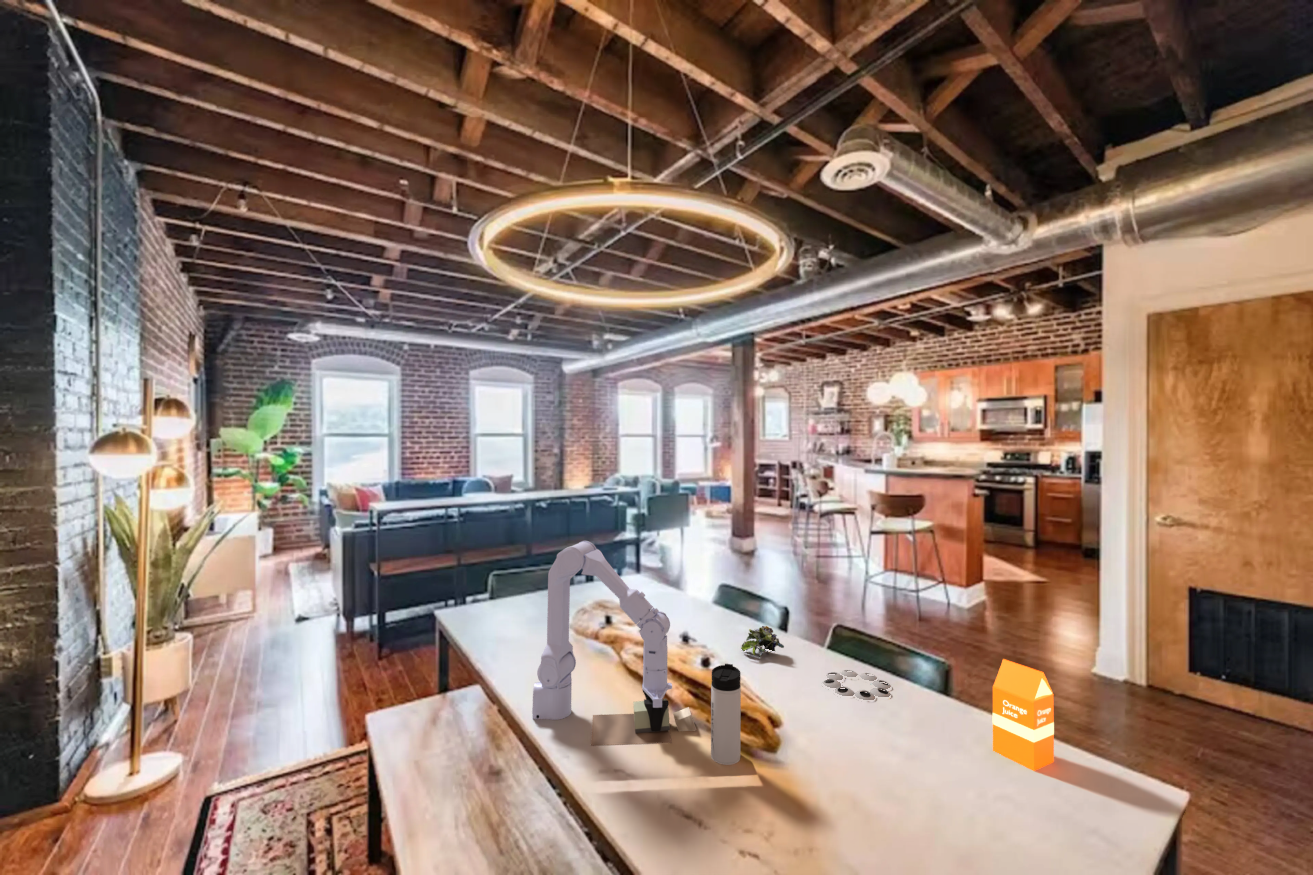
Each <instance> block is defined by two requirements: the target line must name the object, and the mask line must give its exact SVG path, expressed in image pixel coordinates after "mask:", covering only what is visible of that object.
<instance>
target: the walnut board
mask: <svg viewBox="0 0 1313 875" xmlns="http://www.w3.org/2000/svg"><path fill="white" fill-rule="evenodd" d="M590 734H591V737H590V746H591V747H592V746H593V747H596V746H598V747H599V746H601V747H602V746H623V745H625V746H626V745H629V746H630V745H654V744H672V738H671V733H670V730H666V731H656V732H646V733H636V734H635V723H634V713H619V714H618V713H617V714H616V713H613V714H592V722H591V733H590Z"/></svg>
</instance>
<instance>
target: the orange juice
mask: <svg viewBox="0 0 1313 875" xmlns="http://www.w3.org/2000/svg"><path fill="white" fill-rule="evenodd" d="M1054 703H1055V702H1054V693H1053V690H1052V688H1051V686H1050V684H1049V681H1048V679H1047V677H1046V674H1045V673H1044V671H1041V670H1038V669H1036V668H1032V667H1029V666H1027V665H1023V664H1020V663H1017V662H1014V661H1011V660H1008V659H1005V658H1002V661H1001V665H1000V667H999V669H998V673H997V675H996V677H995V680H994V682H993V685H992V752H994V751H995V752H994V753H996V752H997V753H996V754H998V753H999V754H998V755H1000V754H1001V756H1002V757H1005V758H1007V759H1009V760H1010V761H1012V762H1014V763H1017V764H1019V765H1021V766H1023V767H1024V768H1027V769H1029V770H1031V771H1033V772H1036V771H1037V770H1040V769H1041V768H1045V767H1046V766H1048V765H1051V764H1052V763H1053V764H1054V762H1055V757H1054V756H1055V750H1054V747H1055V746H1054V745H1055V744H1054V743H1055V738H1054V737H1055V736H1054V735H1055V722H1054V720H1055V719H1054V716H1055V714H1054V711H1055V710H1054V705H1055V704H1054Z"/></svg>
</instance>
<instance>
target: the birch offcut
mask: <svg viewBox="0 0 1313 875" xmlns="http://www.w3.org/2000/svg"><path fill="white" fill-rule="evenodd" d="M672 715H673V719H674V722H675V726H676V728H677V731H678V732H687V731H693V732H694V731H695V732H696V731H697V729H696V724H695V722H694V719H693V718H694V717H693V715H692V713H691V710H690V707H689V706H688V707H685V708H683V709H680V710H677V711H674V712H673V713H672Z"/></svg>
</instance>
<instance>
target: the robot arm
mask: <svg viewBox="0 0 1313 875" xmlns="http://www.w3.org/2000/svg"><path fill="white" fill-rule="evenodd" d="M581 570H582V571H581ZM579 571H581V575H583V576H591V577H592V576H593V577H597V579H598V580H600V582H601V583H602V584H603V585H604V586H605V587H607V588H608V590H610V592H612V593H613V594H614V595H615V596H616V597H617V598H618V600H619V608H620V609H621V610H622V611H623V612H624V613H625V615H627V617H629V619H631V621H632V622H633V623H634V624H635V625H636V626H637V627H638V628H639V635H640V637H641V639H642V640H643V650H642V651H643V653H642V654H643V656H642V659H643V660H642V661H643V662H642V663H643V666H642V667H643V668H642V671H643V672H642V687H641V688H642V693H643V695H644V697H645V698H644V699H643V701H644V705H645V707H646V709H647V712H648V715H649V720H650V727H651V731H660V730H661V727H662V722H663V717H664V714H665V711H666V709H667V708H669V705H670V703H669V700H668V699H667V700H663V701H662V699H664V697H665V695H666V693H667V691H668V690H672V689H673V684H672V683H671V682H668V635H667V634H668V632H669V630H670V627H671V622H670V619H669V617H668V616H667V613H665V612H663V611H660V610H659V609H658V608H657V607H654V606H653V605H652V603H651V602H649V601H648V599H646V594H645V592H643V591H641V592H640V591H639V589H635V588H630V587H629V586H628V584H626V582H624V580H623V579H622V578H621V577H620V575H619V574H618V573H617V571H615V569H614V568H613V567H612V565H611V563H609V562H608V561H607V559H606V558H605V556H604V555H603V553H602V551H601V550H600V549H599V548H597V547H596V545H595V544H594V543H592V541H588V540H582V541H580V542H578V543H576V544H573V545H571V546H568V547H567V546H566V548H563V549H562V550H561V551H560V552H558V553H557V554H556V558H555V560H554V562H553V564H552V565H551V567H550V569H549V570H548V577H547V617H546V618H547V619H546V620H547V629H546V632H547V633H546V646H545V648H544V649H543V651H542V654H541V656H540V657H541V658H540V664H539V666H538V668H537V680H538V682H534V684H533V689H532V711H531V714H532V720H553V721H554V720H555V721H557V720H562V719H565V718H567V717H569V716H570V715H571V714H572V683H573V682H572V681H573V680H572V679H573V678H572V672H573V671H574V670H575V668H576V665H577V659H576V656H575V654H574V651H573V650H574V646H573V644H572V643H571V642H570V600H571V599H570V597H571V596H570V591H571V590H570V589H571V588H570V587H571V579H572V578H573V577H574V576H576V574H578V573H579Z"/></svg>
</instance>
